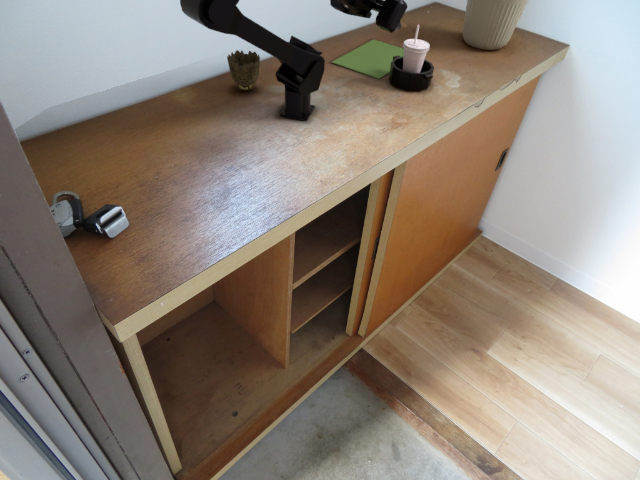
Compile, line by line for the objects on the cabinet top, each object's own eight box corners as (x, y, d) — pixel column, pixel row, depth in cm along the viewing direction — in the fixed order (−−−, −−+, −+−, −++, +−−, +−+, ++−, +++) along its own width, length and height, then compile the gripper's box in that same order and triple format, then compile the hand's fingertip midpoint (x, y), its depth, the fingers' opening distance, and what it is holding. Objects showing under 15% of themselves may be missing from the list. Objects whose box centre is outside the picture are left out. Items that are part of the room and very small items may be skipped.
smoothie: (392, 77, 114) (402, 20, 105) (414, 75, 116) (426, 19, 106) (403, 88, 110) (414, 30, 100) (426, 86, 112) (439, 28, 102)
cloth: (379, 79, 113) (379, 78, 113) (331, 63, 119) (331, 61, 119) (418, 54, 126) (418, 52, 126) (373, 40, 132) (373, 39, 132)
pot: (410, 97, 107) (414, 79, 104) (377, 75, 115) (379, 58, 112) (441, 88, 111) (446, 71, 108) (407, 68, 119) (411, 51, 116)
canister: (452, 50, 129) (473, -32, 114) (454, 29, 142) (473, -47, 127) (516, 59, 127) (546, -23, 112) (511, 37, 139) (538, -40, 124)
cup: (264, 83, 108) (262, 51, 103) (258, 97, 103) (256, 64, 98) (234, 81, 109) (231, 48, 103) (227, 95, 104) (223, 61, 98)
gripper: (404, -44, 82) (435, -2, 95) (337, -64, 92) (373, -23, 104) (374, 15, 85) (408, 48, 98) (311, -11, 95) (350, 22, 107)
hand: (384, 22), depth 102 cm, fingers open, 9 cm apart
